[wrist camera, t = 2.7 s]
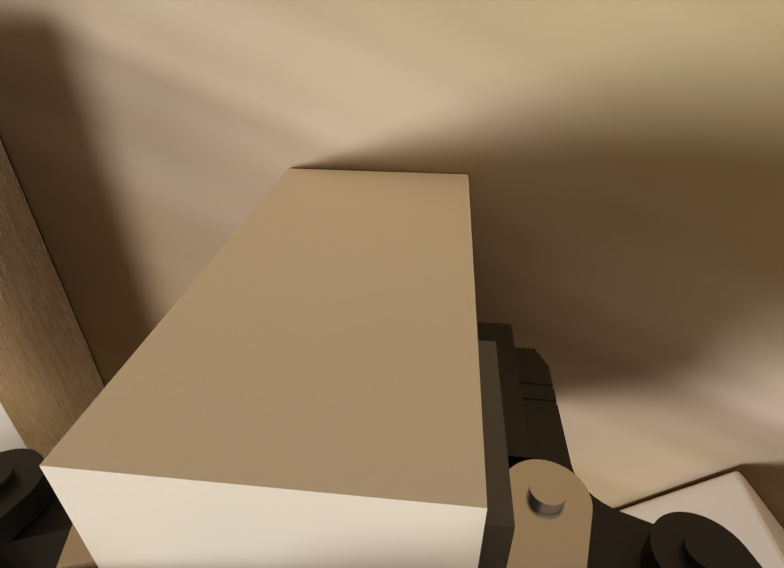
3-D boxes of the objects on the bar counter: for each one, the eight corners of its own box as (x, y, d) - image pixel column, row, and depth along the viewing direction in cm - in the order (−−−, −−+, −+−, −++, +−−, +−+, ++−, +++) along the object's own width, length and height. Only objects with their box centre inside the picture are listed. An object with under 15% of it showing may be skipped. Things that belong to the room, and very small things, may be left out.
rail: (-40, 43, 11) (-196, 66, 8) (161, 522, 20) (118, 604, 17) (-143, 42, 11) (-325, 65, 8) (103, 516, 20) (52, 596, 17)
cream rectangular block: (288, 168, 11) (40, 465, 5) (487, 174, 11) (535, 512, 4) (315, 395, 15) (200, 742, 8) (463, 406, 15) (469, 783, 8)
